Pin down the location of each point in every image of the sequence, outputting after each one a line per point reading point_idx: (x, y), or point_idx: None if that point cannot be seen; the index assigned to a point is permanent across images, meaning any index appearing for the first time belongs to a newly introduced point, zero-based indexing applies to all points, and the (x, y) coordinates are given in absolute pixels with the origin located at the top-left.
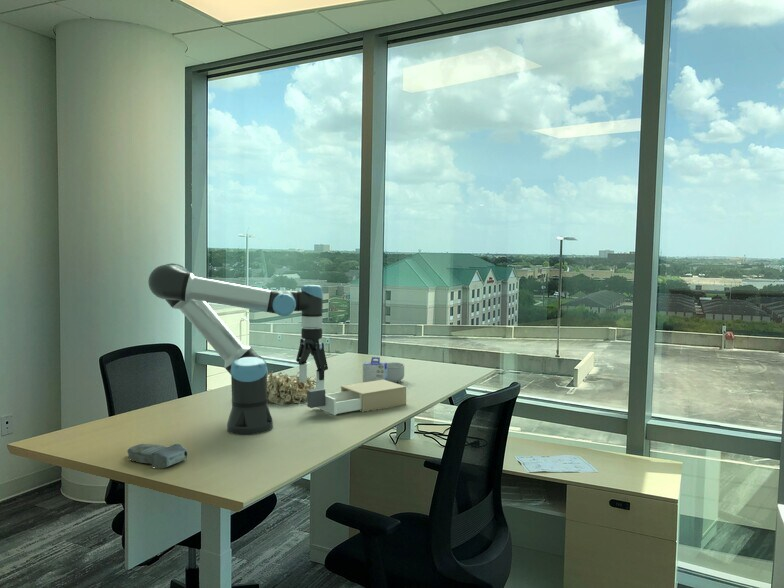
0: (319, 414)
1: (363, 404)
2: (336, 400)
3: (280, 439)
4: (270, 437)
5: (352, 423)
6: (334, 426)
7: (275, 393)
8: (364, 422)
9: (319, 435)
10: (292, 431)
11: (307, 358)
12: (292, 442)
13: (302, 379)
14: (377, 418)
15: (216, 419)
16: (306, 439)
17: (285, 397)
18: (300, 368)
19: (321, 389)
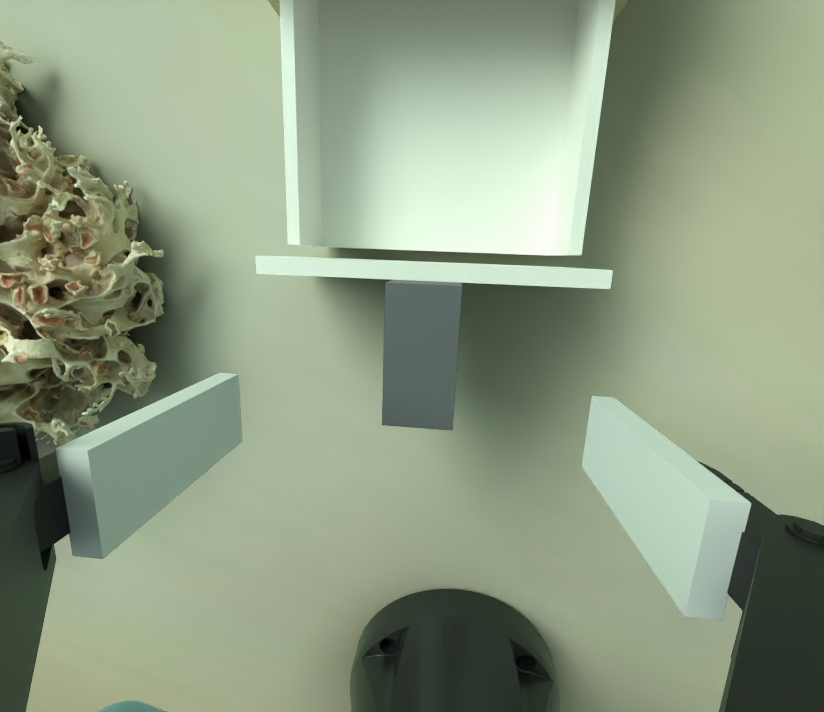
0: None
1: (623, 2)
2: (316, 91)
3: (691, 660)
4: (631, 673)
5: (757, 262)
6: (720, 379)
7: (67, 428)
8: (804, 186)
9: None
10: (626, 572)
11: (11, 536)
12: None
13: (226, 426)
14: (806, 46)
15: (237, 693)
16: None
17: (106, 365)
18: (142, 520)
19: (434, 312)
